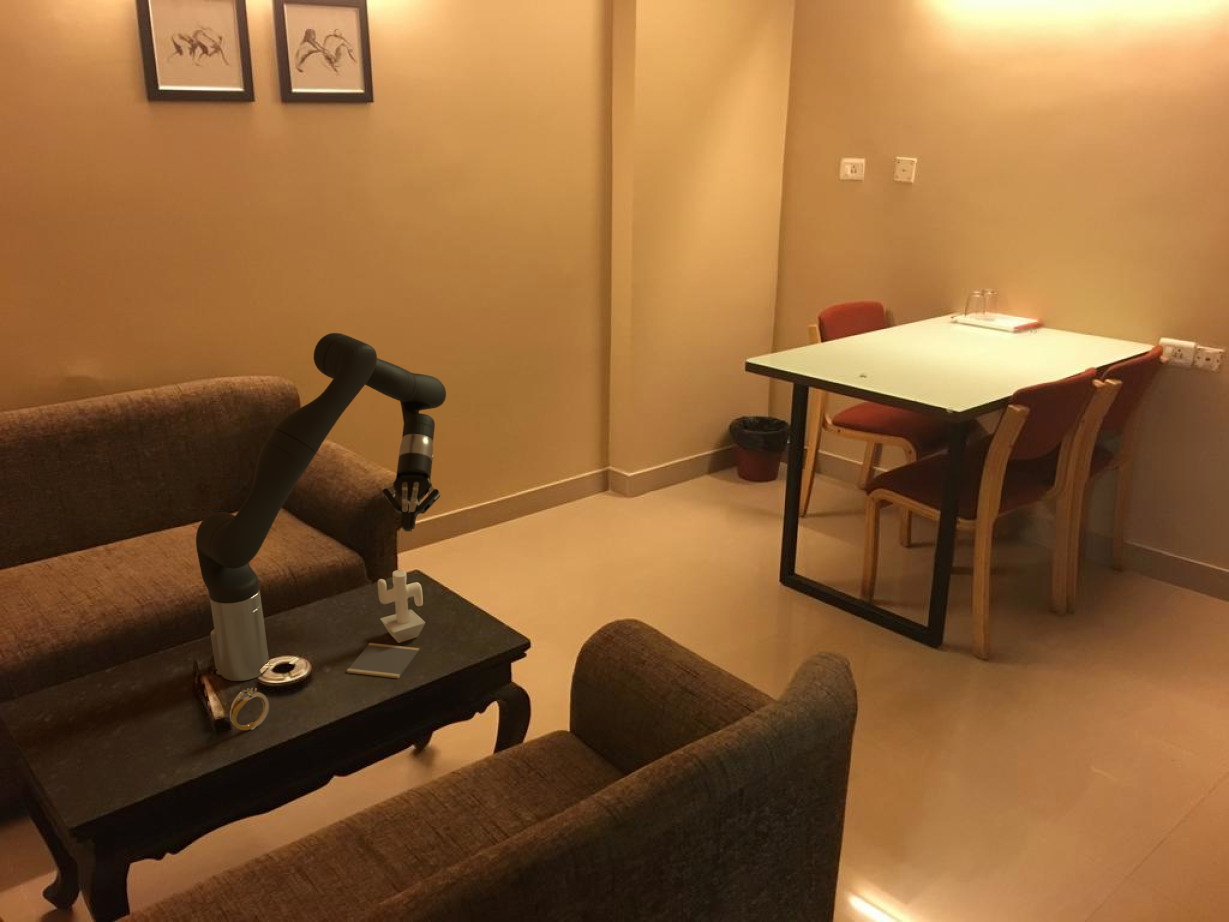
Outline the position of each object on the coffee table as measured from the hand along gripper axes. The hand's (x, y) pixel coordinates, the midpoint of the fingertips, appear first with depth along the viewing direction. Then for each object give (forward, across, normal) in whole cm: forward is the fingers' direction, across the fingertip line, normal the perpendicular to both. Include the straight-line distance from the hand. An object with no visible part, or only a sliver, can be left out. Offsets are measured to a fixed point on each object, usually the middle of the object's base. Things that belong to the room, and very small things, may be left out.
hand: (407, 530), depth 213 cm
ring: (+46, -20, -17) cm, 53 cm away
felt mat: (+29, -2, 0) cm, 29 cm away
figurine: (+22, 0, +7) cm, 23 cm away
